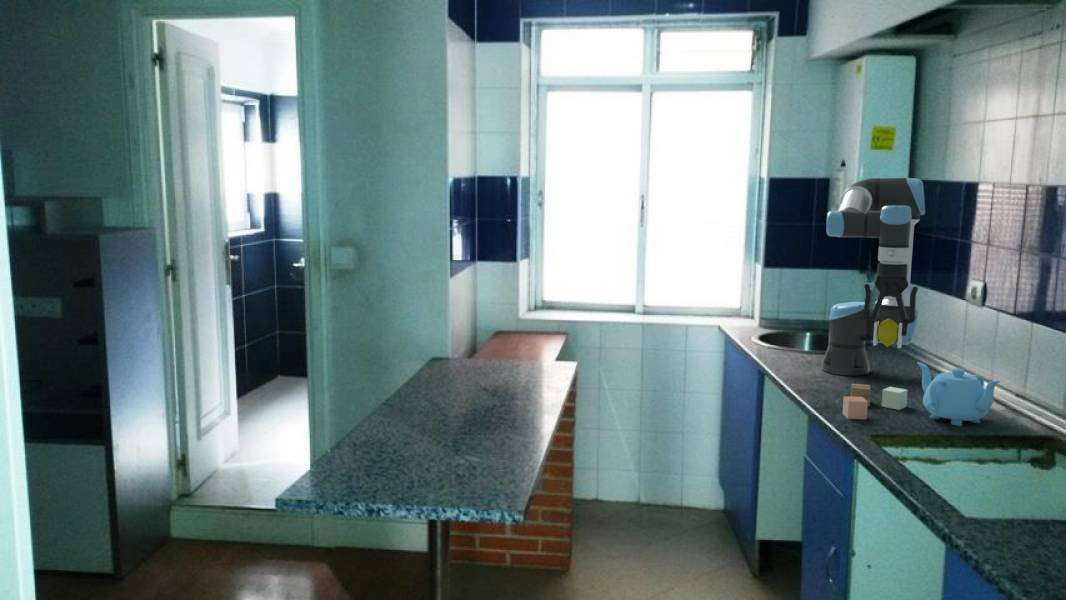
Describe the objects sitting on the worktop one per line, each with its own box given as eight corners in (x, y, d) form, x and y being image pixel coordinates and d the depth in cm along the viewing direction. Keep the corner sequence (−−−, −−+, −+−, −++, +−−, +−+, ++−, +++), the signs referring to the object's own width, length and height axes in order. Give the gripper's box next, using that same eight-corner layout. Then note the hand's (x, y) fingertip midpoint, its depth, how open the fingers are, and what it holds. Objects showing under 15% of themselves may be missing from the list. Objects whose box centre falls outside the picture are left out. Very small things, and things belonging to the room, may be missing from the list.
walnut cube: (850, 400, 235) (851, 383, 234) (868, 401, 233) (870, 385, 232) (850, 404, 230) (851, 387, 229) (869, 406, 228) (870, 389, 227)
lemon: (900, 349, 217) (902, 320, 216) (878, 348, 218) (880, 319, 217) (895, 345, 222) (897, 316, 221) (874, 344, 223) (876, 316, 222)
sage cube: (888, 403, 231) (889, 386, 230) (906, 406, 228) (907, 389, 227) (881, 406, 228) (882, 389, 227) (899, 410, 224) (900, 393, 223)
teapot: (995, 433, 204) (1000, 379, 202) (911, 422, 212) (915, 371, 210) (992, 416, 218) (996, 366, 216) (913, 407, 227) (917, 359, 225)
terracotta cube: (842, 413, 221) (843, 396, 220) (861, 414, 220) (862, 396, 220) (847, 419, 216) (848, 401, 215) (866, 419, 215) (867, 401, 215)
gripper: (854, 262, 218) (849, 344, 222) (929, 265, 208) (922, 352, 212) (858, 259, 224) (854, 340, 228) (931, 263, 215) (925, 347, 218)
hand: (887, 345), depth 220 cm, fingers closed on lemon, 5 cm apart
